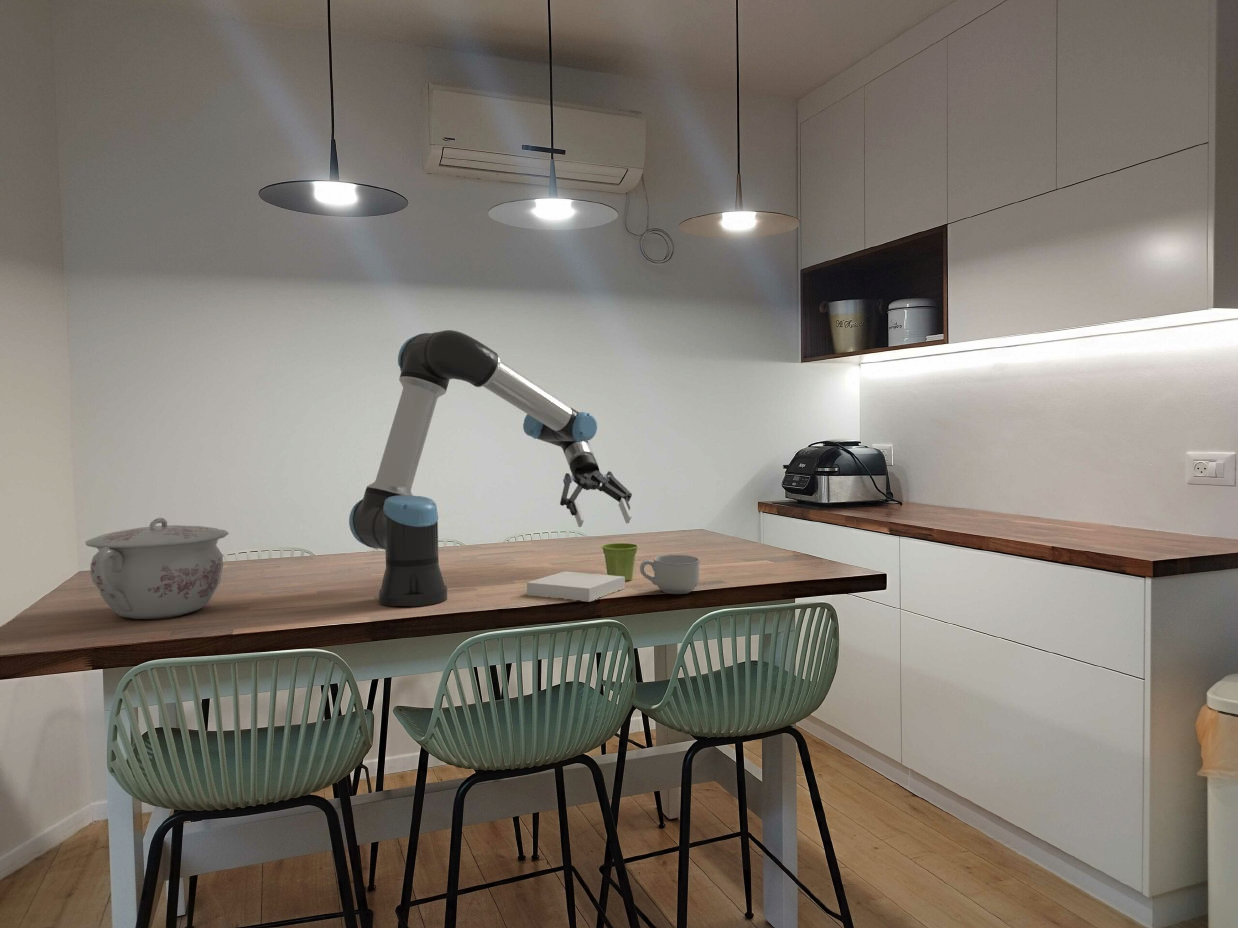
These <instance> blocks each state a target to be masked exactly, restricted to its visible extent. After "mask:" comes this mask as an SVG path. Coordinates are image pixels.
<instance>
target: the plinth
mask: <svg viewBox="0 0 1238 928" xmlns="http://www.w3.org/2000/svg"><path fill="white" fill-rule="evenodd" d="M624 588H625V589H626V582H625V577H624V576H612V575H607V574H600V573H599V574H597V573H587V572H576V571H566V570H565V571H561V572H558V573H556V574H551V575H548V576H544V577H540V578H537V579H534V580H530V581H526V596H529V597H531V596H532V597H540V598H541V597H542V598H548V597H550V599H558V598H564V599H563V600H567V599H573V600H572V601H576V600H581V601H580V602H588V603H590V602H593V601H595V599H596V600H598V599H597V598H599V597H602V596H604V595H606V594H609V593H612V592H615V591H618V590H621V589H624ZM625 589H624V590H625ZM621 591H622V590H621ZM604 597H605V596H604ZM602 598H603V597H602ZM599 599H600V598H599Z"/></svg>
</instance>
